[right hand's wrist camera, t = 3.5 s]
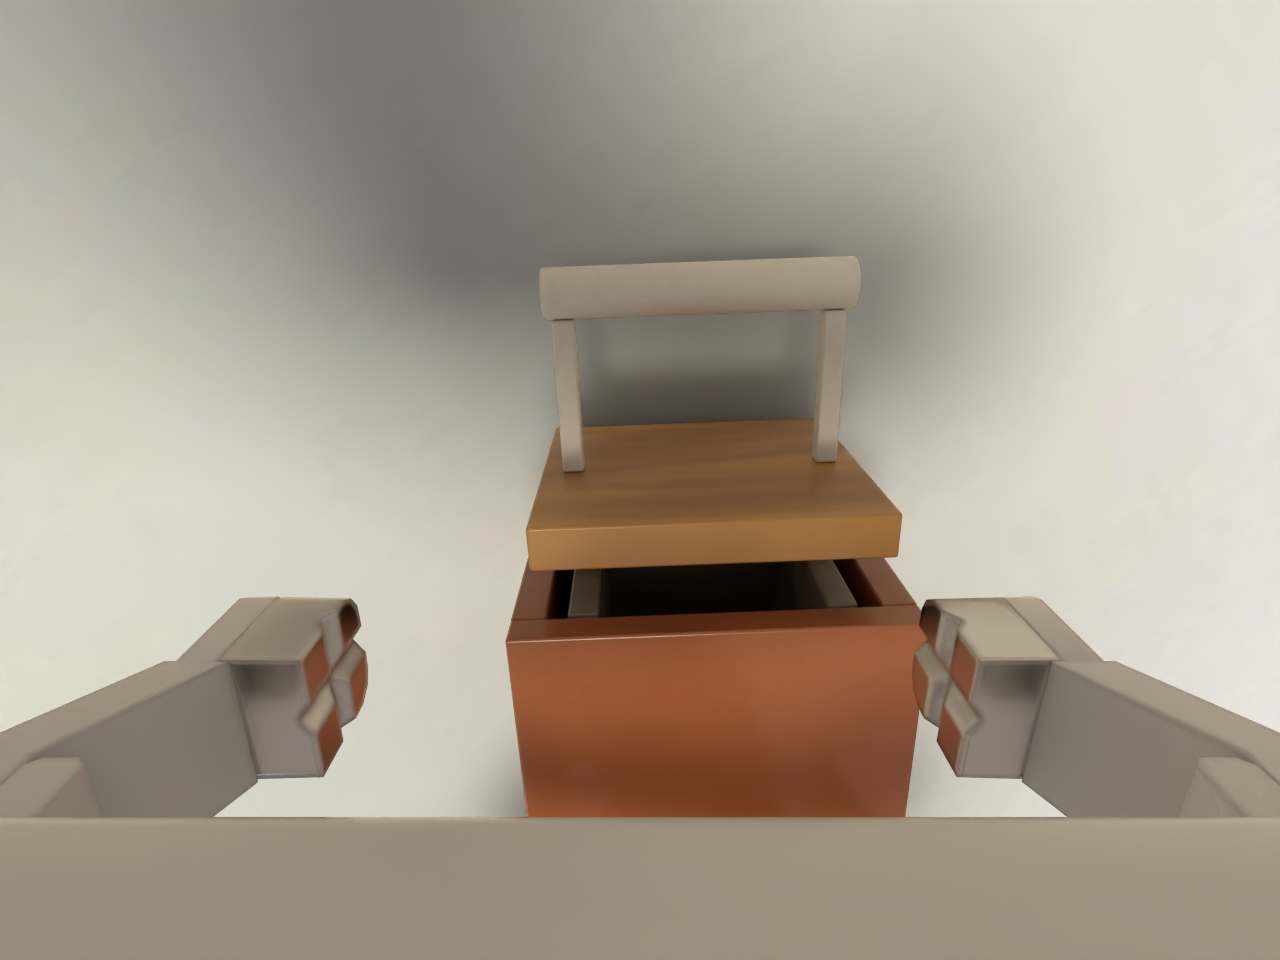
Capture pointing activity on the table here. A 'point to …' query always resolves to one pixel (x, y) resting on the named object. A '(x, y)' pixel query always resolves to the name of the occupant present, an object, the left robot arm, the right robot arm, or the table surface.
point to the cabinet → (717, 705)
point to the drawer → (705, 461)
